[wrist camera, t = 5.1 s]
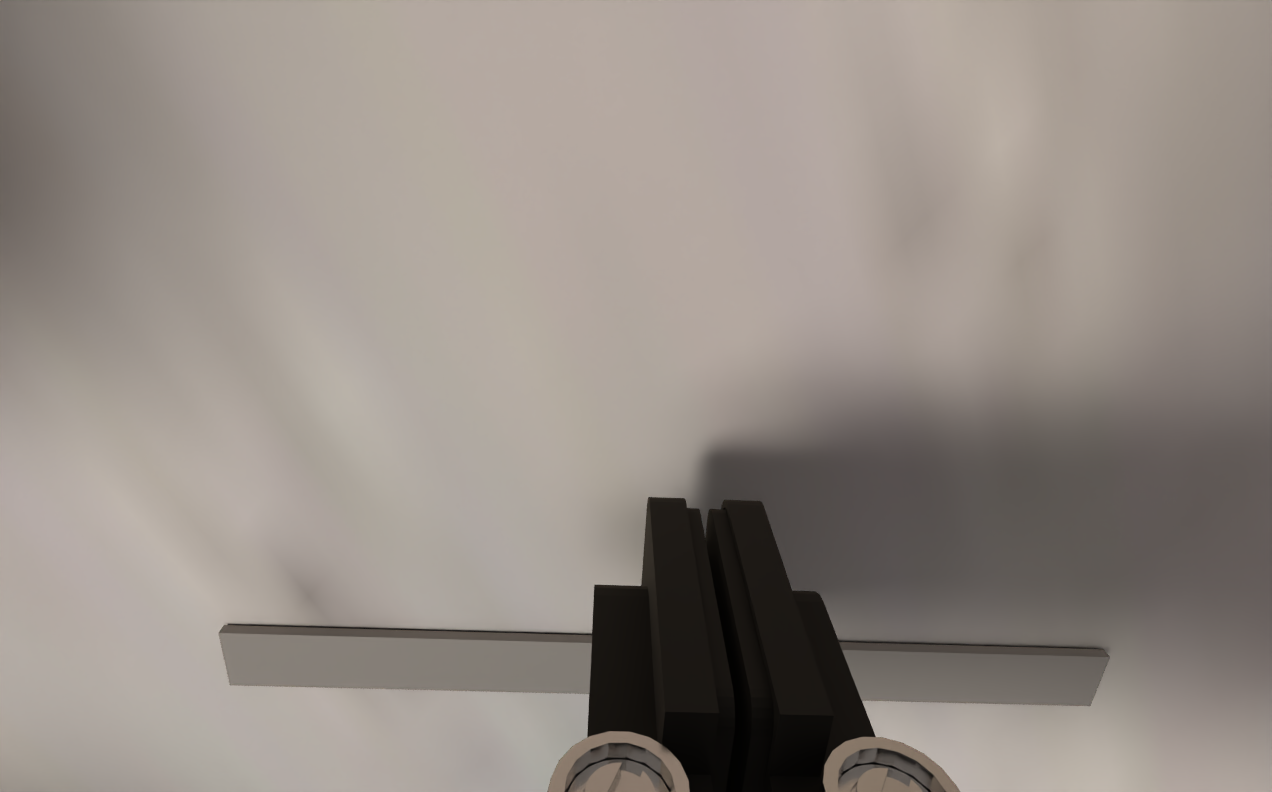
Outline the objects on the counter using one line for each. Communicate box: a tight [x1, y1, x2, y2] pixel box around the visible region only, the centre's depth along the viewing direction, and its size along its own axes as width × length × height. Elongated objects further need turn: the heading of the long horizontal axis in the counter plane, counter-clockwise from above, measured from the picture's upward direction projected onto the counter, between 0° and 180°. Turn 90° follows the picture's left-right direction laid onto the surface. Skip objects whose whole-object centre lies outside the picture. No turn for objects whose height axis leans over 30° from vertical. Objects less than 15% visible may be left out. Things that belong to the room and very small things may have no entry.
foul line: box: [219, 625, 1110, 706], centre depth 13 cm, size 1×16×1 cm, turn 87°
